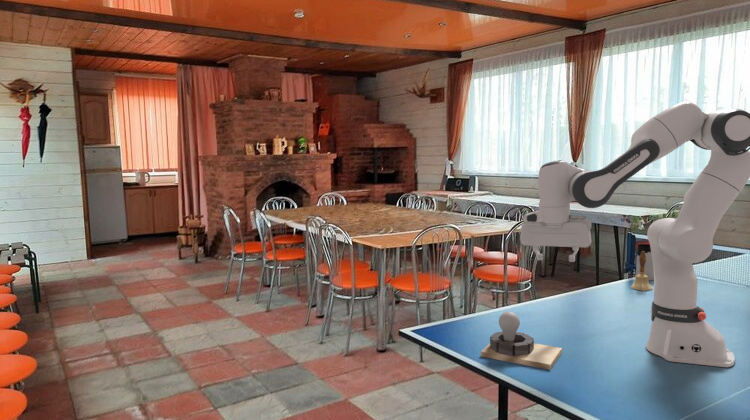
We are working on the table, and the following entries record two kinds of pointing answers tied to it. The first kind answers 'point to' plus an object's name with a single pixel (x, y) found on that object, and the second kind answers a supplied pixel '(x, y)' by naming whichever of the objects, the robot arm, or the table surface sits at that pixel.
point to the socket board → (532, 359)
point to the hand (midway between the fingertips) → (555, 260)
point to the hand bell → (642, 276)
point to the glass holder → (649, 264)
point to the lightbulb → (509, 325)
